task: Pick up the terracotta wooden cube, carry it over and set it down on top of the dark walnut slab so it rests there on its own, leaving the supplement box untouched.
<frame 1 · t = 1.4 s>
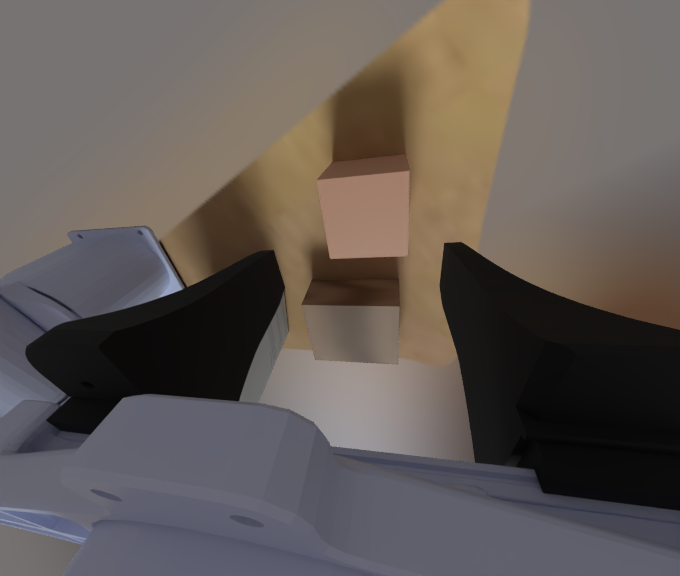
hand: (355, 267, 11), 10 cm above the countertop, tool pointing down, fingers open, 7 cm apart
supplement box: (254, 303, 28), on the countertop
walnut slab: (357, 307, 26), on the countertop
terracotta cube: (370, 194, 19), on the countertop
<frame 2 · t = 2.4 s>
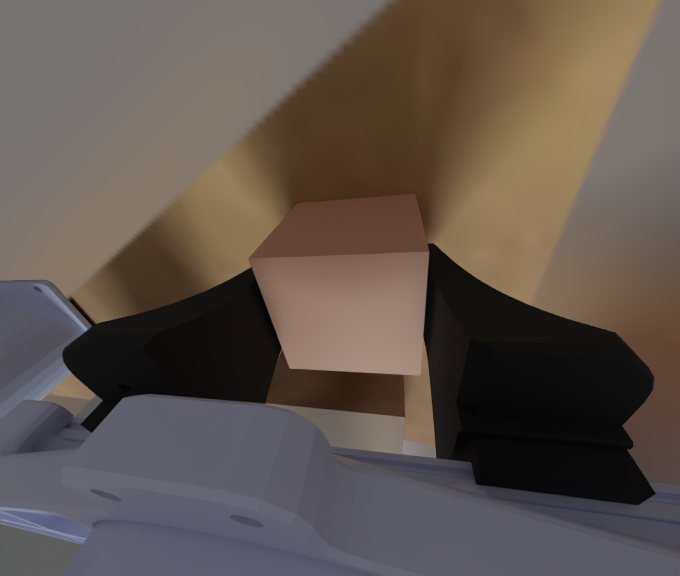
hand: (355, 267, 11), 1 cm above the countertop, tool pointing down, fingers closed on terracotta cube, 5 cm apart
supplement box: (210, 372, 21), on the countertop
walnut slab: (345, 383, 19), on the countertop
terracotta cube: (359, 250, 13), on the countertop, touching gripper
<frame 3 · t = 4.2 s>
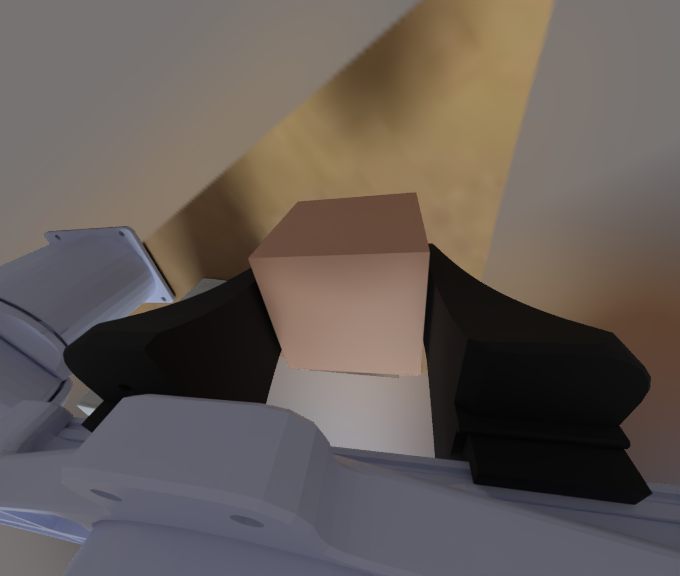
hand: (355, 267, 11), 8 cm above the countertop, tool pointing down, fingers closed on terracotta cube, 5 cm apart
supplement box: (246, 309, 26), on the countertop
terracotta cube: (359, 250, 12), point 7 cm above the countertop, touching gripper
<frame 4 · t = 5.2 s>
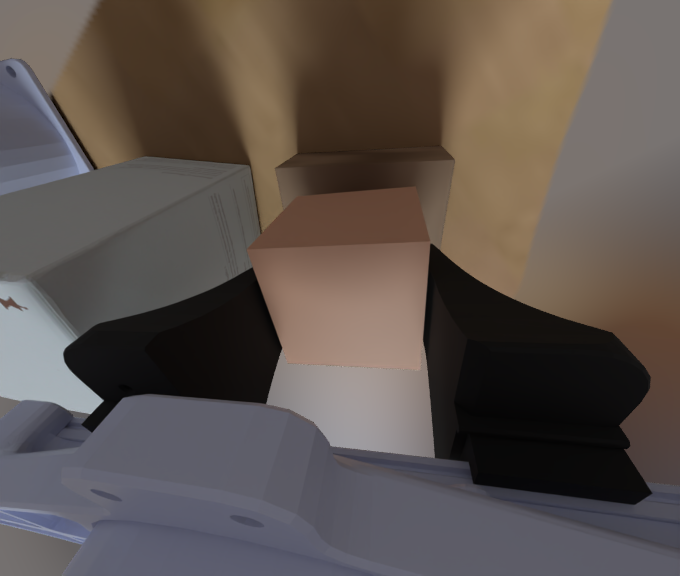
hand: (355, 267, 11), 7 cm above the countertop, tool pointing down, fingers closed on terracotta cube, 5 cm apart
supplement box: (212, 214, 19), on the countertop
walnut slab: (367, 209, 17), on the countertop
terracotta cube: (358, 245, 12), point 5 cm above the countertop, touching gripper
when the fingers open (6 cm above the countertop, at t = 5.8 s): terracotta cube drops 1 cm, resting on walnut slab.
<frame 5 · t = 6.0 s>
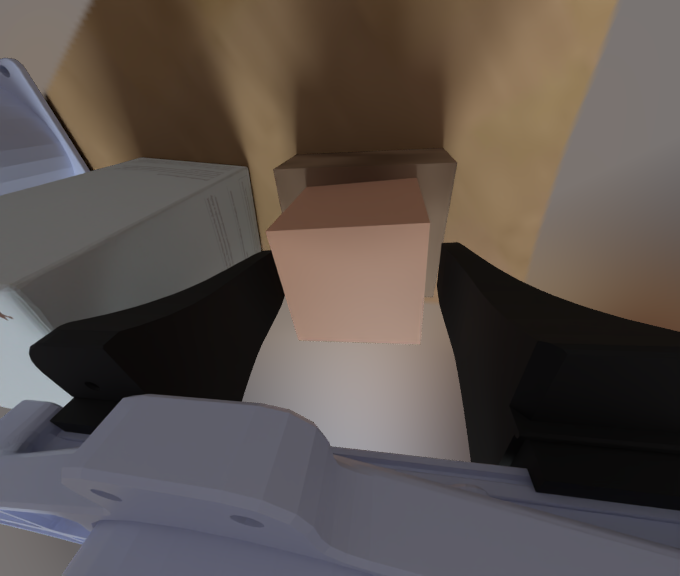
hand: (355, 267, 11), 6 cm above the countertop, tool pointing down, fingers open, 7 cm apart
supplement box: (210, 216, 18), on the countertop
walnut slab: (367, 212, 17), on the countertop, touching terracotta cube
terracotta cube: (363, 234, 13), point 4 cm above the countertop, touching walnut slab
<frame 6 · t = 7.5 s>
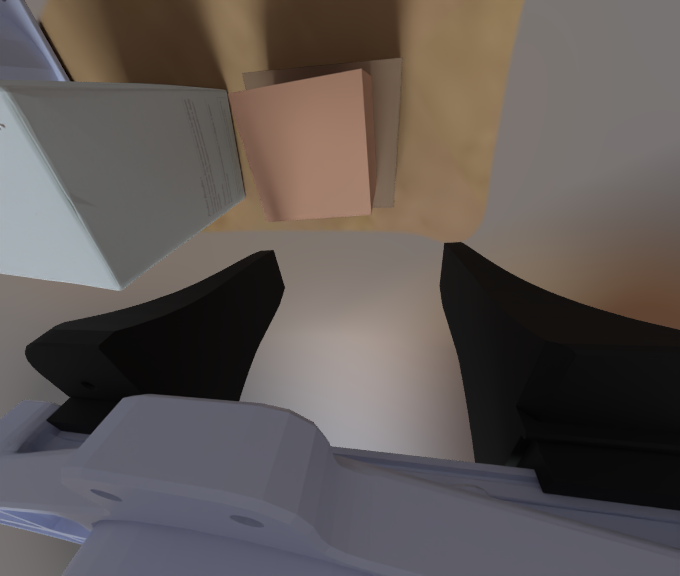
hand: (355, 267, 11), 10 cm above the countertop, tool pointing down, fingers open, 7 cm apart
supplement box: (194, 146, 20), on the countertop
walnut slab: (336, 137, 18), on the countertop, touching terracotta cube
terracotta cube: (329, 141, 15), point 4 cm above the countertop, touching walnut slab
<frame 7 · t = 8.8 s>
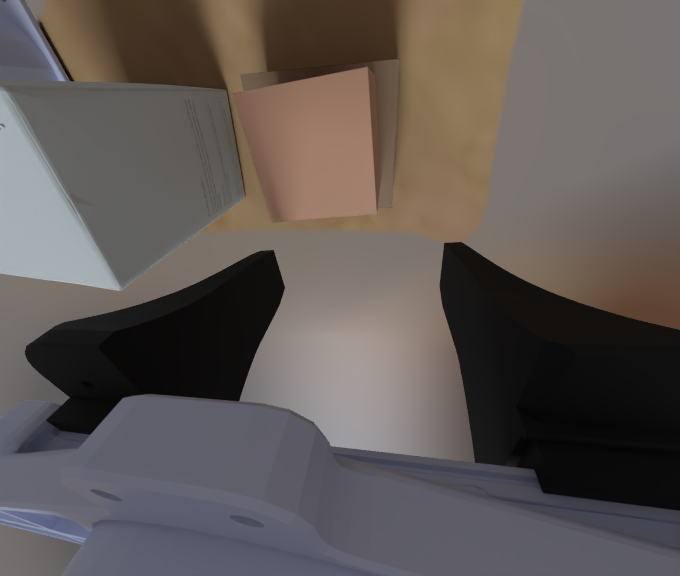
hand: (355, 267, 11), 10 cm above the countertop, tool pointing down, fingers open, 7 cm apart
supplement box: (194, 146, 20), on the countertop
walnut slab: (335, 138, 18), on the countertop
terracotta cube: (332, 141, 15), point 4 cm above the countertop
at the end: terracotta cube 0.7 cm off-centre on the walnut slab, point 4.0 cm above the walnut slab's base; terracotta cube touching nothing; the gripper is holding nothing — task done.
